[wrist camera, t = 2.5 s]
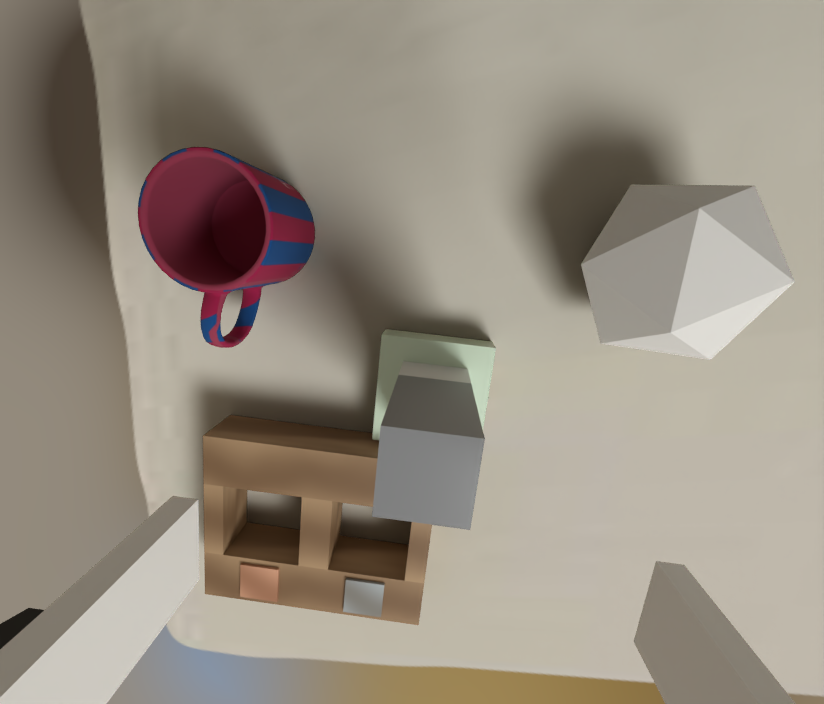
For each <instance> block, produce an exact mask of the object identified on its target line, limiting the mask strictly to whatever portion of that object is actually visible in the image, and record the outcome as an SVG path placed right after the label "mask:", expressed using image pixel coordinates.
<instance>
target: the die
mask: <svg viewBox="0 0 824 704" xmlns="http://www.w3.org/2000/svg"><path fill="white" fill-rule="evenodd" d="M581 267H582V271H583V275H584V279H585V283H586V287H587V291H588V295H589V299H590V303H591V307H592V311H593V315H594V319H595V323H596V328H597V332H598V336H599V340H600V344H607V345H614V346H621V347H627V348H634V349H641V350H647V351H654V352H661V353H667V354H674V355H681V356H688V357H694V358H701V359H708V360H711V359H712V358H713V357H714V356H715V355H716V354H717V353H718V352H719V351H720V350H721V349H722V348H724V347H725V346H726V345H727V344H728V343H729V342H730V341H731V340H732V339H733V338H734V337H735V336H737V335H738V334H739V333H740V332H741V331H742V330H743V329H744V328H745V327H746V326H747V325H748V324H750V323H751V322H752V321H753V320H754V319H755V318H756V317H757V316H758V315H759V314H760V313H762V312H763V311H764V310H765V309H766V308H767V307H768V306H769V305H770V304H771V303H772V302H773V301H775V300H776V299H777V298H778V297H779V296H780V295H781V294H782V293H783V292H784V291H785V290H786V289H788V288H789V287H790V286H791V285H792V284H793V283H794V282H795V281H794V279H793V276H792V274H791V271H790V269H789V266H788V264H787V262H786V259H785V257H784V254H783V252H782V250H781V247H780V245H779V242H778V240H777V237H776V235H775V233H774V230H773V228H772V225H771V223H770V221H769V218H768V216H767V213H766V211H765V209H764V206H763V204H762V201H761V199H760V196H759V194H758V192H757V189H756V187H755V186H726V185H630V187H629V189H628V190H627V192H626V193H625V195H624V197H623V198H622V200H621V201H620V203H619V205H618V206H617V208H616V209H615V211H614V212H613V214H612V216H611V217H610V219H609V220H608V222H607V224H606V225H605V227H604V228H603V230H602V232H601V233H600V235H599V236H598V238H597V239H596V241H595V243H594V244H593V246H592V247H591V249H590V251H589V252H588V254H587V255H586V257H585V259H584V260H583V262H582V263H581Z"/></svg>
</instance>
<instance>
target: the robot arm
mask: <svg viewBox="0 0 824 704" xmlns="http://www.w3.org/2000/svg"><path fill="white" fill-rule="evenodd" d="M198 581H199V510H198V499H191V498H184V497H177V496H172V497H171V498H170V499H169V500H168V501H167V502H166V503H164V504H163V505H162V506H161V507H160V508H159V509H158V510H157V511H155V512H154V513H153V514H152V515H151V516H150V517H149V518H148V519H146V520H145V521H144V522H143V523H142V524H141V525H140V526H139V527H137V528H136V529H135V530H134V531H133V532H132V533H131V534H130V535H128V536H127V537H126V538H125V539H124V540H123V541H122V542H121V543H120V544H118V545H117V546H116V547H115V548H114V549H113V550H112V551H110V552H109V553H108V554H107V555H106V556H105V557H104V558H103V559H101V560H100V561H99V562H98V563H97V564H96V565H95V566H94V567H92V568H91V569H90V570H89V571H88V572H87V573H86V574H85V575H84V576H82V577H81V578H80V579H79V580H78V581H77V582H76V583H74V584H73V585H72V586H71V587H70V588H69V589H68V590H67V591H66V592H64V593H63V594H62V595H61V596H60V597H59V598H58V599H56V600H55V601H54V602H53V603H52V604H51V605H50V606H49V607H48V608H47V609H45V610H40V609H32V608H28V609H26V610H24V611H23V612H21V613H19V614H17V615H16V616H14V617H12V618H10V619H9V620H7V621H5V622H3V623H1V624H0V704H106V703H107V702H108V701H109V699H110V698H111V697H112V695H113V694H114V693H115V691H116V690H117V689H118V687H119V686H120V685H121V683H122V682H123V681H124V679H125V678H126V677H127V675H128V674H129V673H130V671H131V670H132V669H133V667H134V666H135V665H136V663H137V662H138V661H139V659H140V658H141V657H142V655H143V654H144V653H145V651H146V650H147V649H148V647H149V646H150V645H151V643H152V642H153V641H154V639H155V638H156V637H157V635H158V634H159V632H160V631H161V630H162V629H163V627H164V626H165V625H166V623H167V622H168V621H169V619H170V618H171V617H172V615H173V614H174V613H175V611H176V610H177V609H178V607H179V606H180V605H181V603H182V602H183V601H184V599H185V598H186V597H187V595H188V594H189V593H190V591H191V590H192V589H193V587H194V586H195V585H196V583H197V582H198ZM634 643H635V645H636V647H637V649H638V651H639V653H640V655H641V657H642V659H643V661H644V663H645V664H646V666H647V668H648V670H649V672H650V674H651V676H652V678H653V680H654V682H655V684H656V686H657V688H658V690H659V692H660V694H661V696H662V698H663V700H664V702H665V704H795V702H794V701H793V700H792V699H791V697H790V696H789V695H788V694H787V692H786V691H785V690H784V689H783V687H782V686H781V685H780V684H779V682H778V681H777V680H776V679H775V677H774V676H773V675H772V674H771V672H770V671H769V670H768V669H767V668H766V666H765V665H764V664H763V663H762V661H761V660H760V659H759V658H758V656H757V655H756V654H755V653H754V651H753V650H752V649H751V648H750V646H749V645H748V644H747V643H746V641H745V640H744V639H743V638H742V636H741V635H740V634H739V633H738V631H737V630H736V629H735V628H734V626H733V625H732V624H731V623H730V621H729V620H728V619H727V618H726V617H725V615H724V614H723V613H722V612H721V610H720V609H719V608H718V607H717V605H716V604H715V603H714V602H713V600H712V599H711V598H710V597H709V595H708V594H707V593H706V592H705V590H704V589H703V588H702V587H701V585H700V584H699V583H698V582H697V580H696V579H695V578H694V577H693V575H692V574H691V573H690V572H689V570H688V569H687V568H686V567H685V565H681V564H674V563H666V562H659V561H656V563H655V567H654V570H653V574H652V578H651V581H650V585H649V588H648V592H647V596H646V599H645V603H644V606H643V610H642V613H641V617H640V621H639V624H638V628H637V631H636V635H635V638H634Z"/></svg>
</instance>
